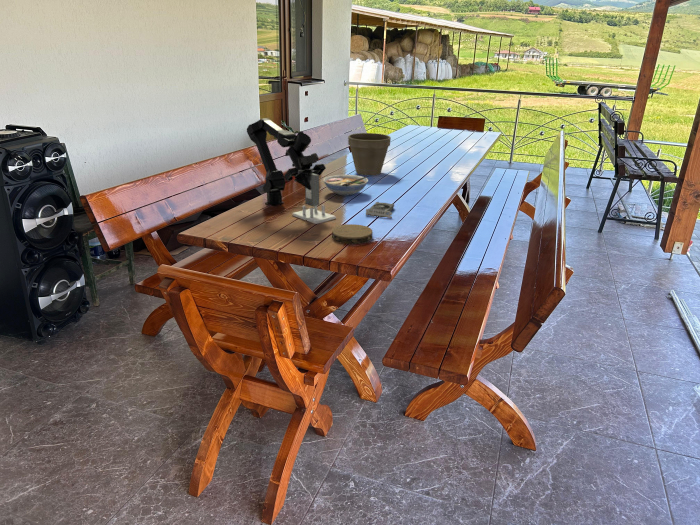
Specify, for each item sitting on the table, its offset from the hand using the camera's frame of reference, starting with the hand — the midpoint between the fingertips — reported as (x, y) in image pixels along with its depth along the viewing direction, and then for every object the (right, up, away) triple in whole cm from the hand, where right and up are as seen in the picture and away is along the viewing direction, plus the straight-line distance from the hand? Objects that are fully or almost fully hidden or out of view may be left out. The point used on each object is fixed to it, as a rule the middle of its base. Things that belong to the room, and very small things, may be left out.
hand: (314, 188), depth 222 cm
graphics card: (+30, -9, +16) cm, 35 cm away
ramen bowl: (+13, +3, +44) cm, 46 cm away
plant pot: (+26, +22, +90) cm, 96 cm away
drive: (-1, -6, +4) cm, 7 cm away
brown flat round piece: (+16, -22, -16) cm, 32 cm away
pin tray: (-1, -11, +7) cm, 13 cm away
